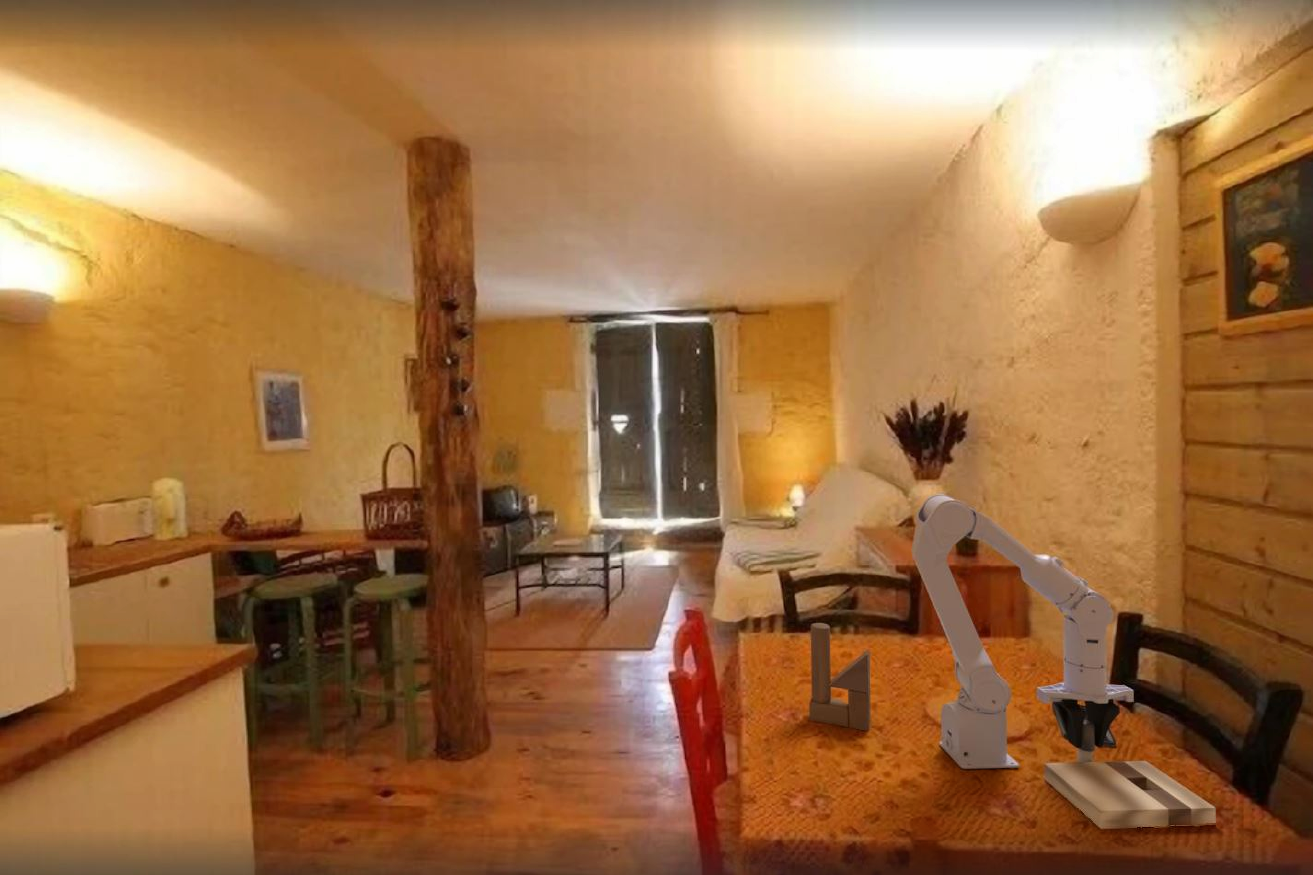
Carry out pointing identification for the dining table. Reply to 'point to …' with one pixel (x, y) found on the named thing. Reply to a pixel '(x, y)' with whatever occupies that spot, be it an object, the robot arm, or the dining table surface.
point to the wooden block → (838, 685)
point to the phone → (1109, 737)
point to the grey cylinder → (1087, 742)
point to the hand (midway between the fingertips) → (1085, 744)
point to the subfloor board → (1127, 794)
